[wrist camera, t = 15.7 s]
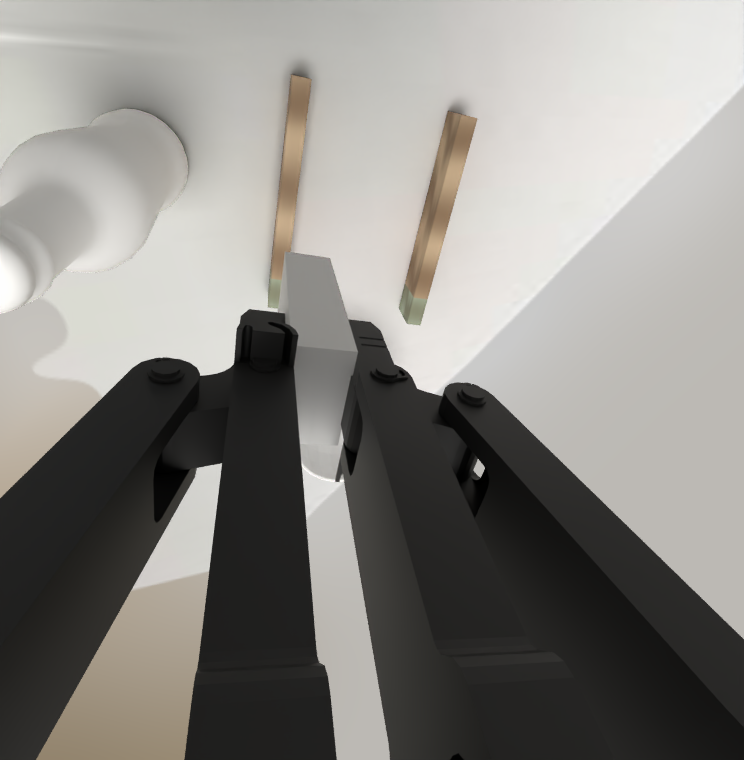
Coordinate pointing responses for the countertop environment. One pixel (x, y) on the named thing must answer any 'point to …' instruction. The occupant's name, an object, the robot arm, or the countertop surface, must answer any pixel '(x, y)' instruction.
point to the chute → (433, 215)
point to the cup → (322, 459)
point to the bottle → (83, 199)
